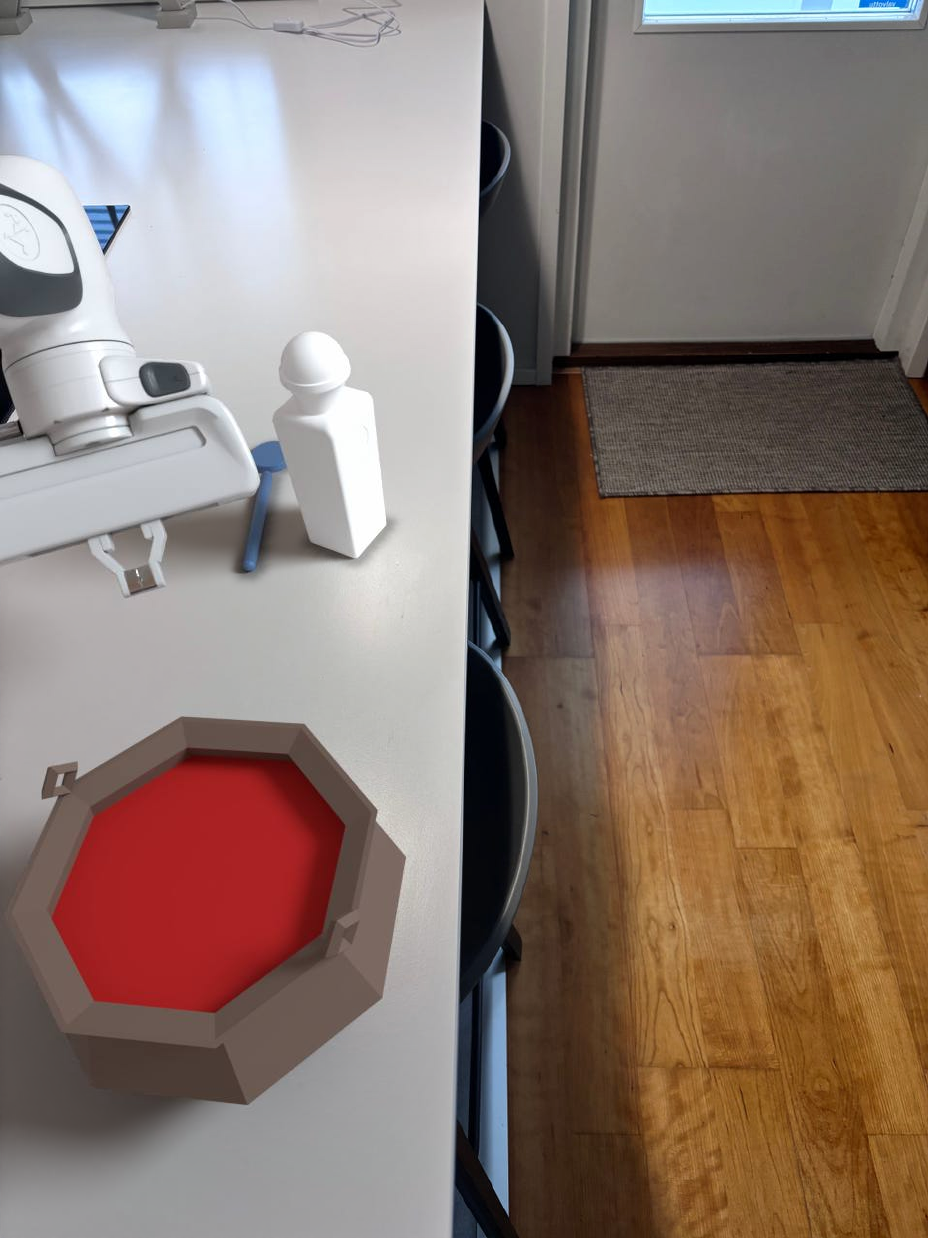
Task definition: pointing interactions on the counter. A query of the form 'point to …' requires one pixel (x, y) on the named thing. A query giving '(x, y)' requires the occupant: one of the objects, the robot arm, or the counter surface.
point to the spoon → (262, 495)
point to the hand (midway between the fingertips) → (145, 592)
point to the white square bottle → (330, 446)
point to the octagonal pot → (208, 908)
